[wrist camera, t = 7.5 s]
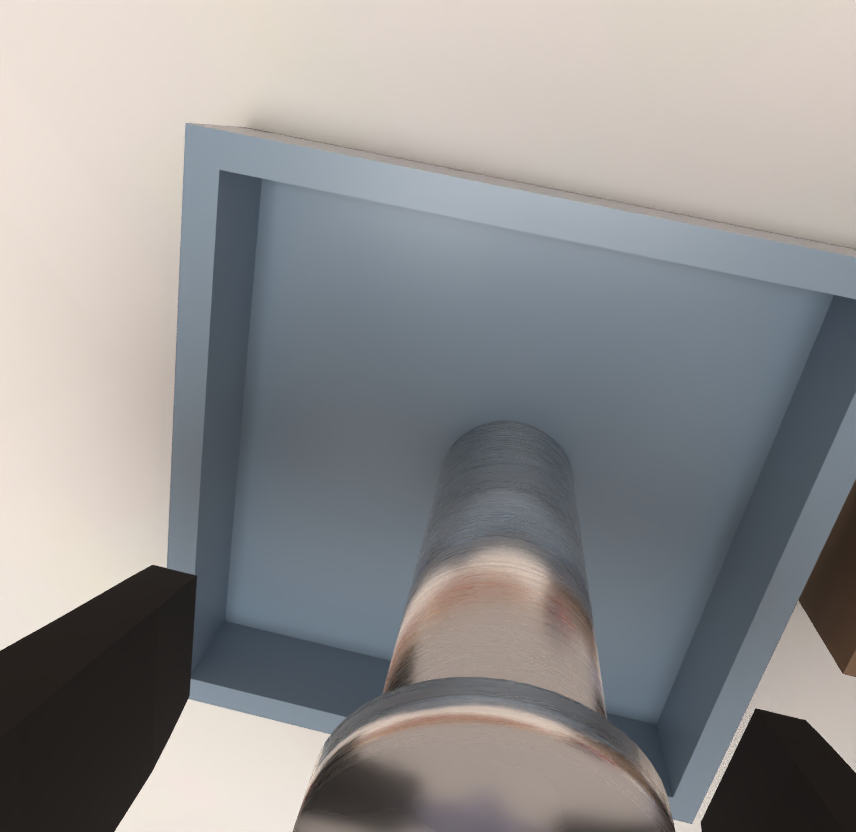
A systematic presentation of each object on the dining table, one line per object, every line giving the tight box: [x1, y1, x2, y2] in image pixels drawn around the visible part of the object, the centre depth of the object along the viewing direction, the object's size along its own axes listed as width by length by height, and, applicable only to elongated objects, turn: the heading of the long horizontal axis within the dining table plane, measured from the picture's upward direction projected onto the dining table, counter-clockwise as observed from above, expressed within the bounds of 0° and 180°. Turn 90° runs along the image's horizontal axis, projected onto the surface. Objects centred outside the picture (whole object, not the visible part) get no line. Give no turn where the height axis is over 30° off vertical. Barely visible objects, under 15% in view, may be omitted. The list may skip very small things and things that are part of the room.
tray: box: [167, 123, 856, 824], centre depth 14 cm, size 12×12×2 cm
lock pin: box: [293, 421, 675, 832], centre depth 11 cm, size 4×4×9 cm
